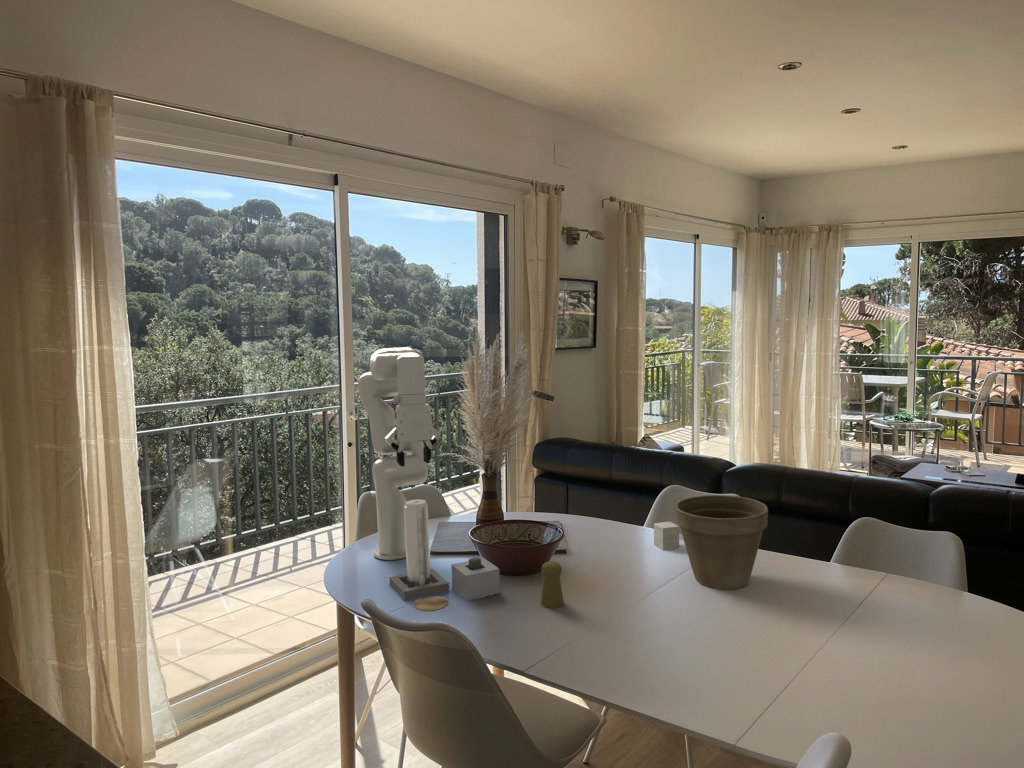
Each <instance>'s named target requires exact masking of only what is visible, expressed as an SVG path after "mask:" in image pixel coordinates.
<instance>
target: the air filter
mask: <svg viewBox="0 0 1024 768" xmlns="http://www.w3.org/2000/svg"><path fill="white" fill-rule="evenodd" d="M406 501H407V500H406ZM428 507H429V506H428V503H427V501H426V500H425V499H410V500H408V501H407V502H406V504H405V505H404V517H405V542H406V558H405V561H406V563H405V564H406V574H407V585H406V586H407V587H408V588H412V587H417V586H421V585H426V584H431V582H430V569H431V561H430V559H431V557H430V537H429V536H430V532H429V531H430V530H429V529H430V528H429V508H428Z"/></svg>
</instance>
